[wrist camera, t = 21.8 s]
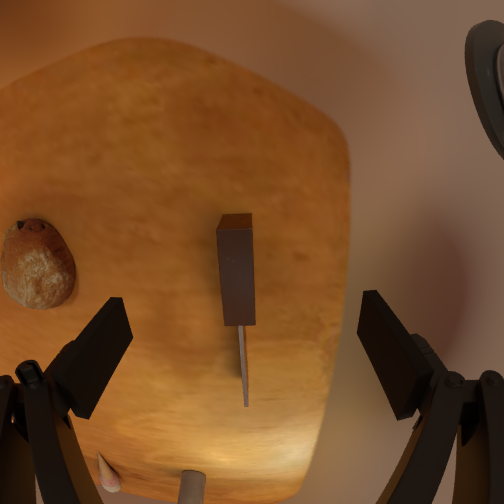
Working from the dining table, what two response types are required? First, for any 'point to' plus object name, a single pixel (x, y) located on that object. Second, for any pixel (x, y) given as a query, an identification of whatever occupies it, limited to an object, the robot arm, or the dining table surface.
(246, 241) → the knife
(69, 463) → the robot arm
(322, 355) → the dining table surface
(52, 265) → the bread roll
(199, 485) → the grey cylinder
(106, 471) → the ice cream cone
